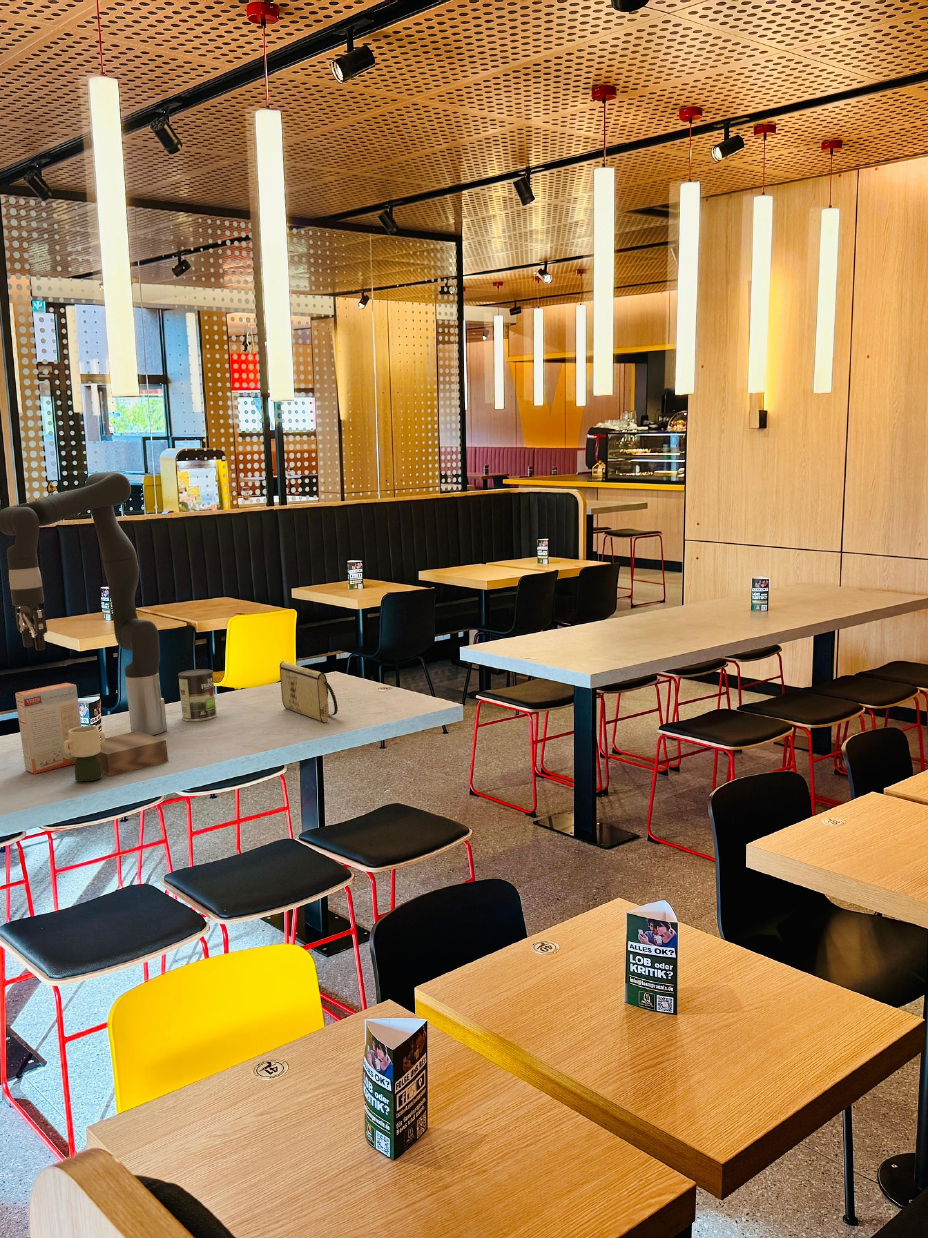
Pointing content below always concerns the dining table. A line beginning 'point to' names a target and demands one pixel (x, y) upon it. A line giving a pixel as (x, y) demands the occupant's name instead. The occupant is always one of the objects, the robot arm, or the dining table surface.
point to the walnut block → (131, 752)
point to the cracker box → (47, 725)
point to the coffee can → (197, 695)
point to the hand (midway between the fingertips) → (34, 648)
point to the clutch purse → (306, 691)
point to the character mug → (85, 751)
